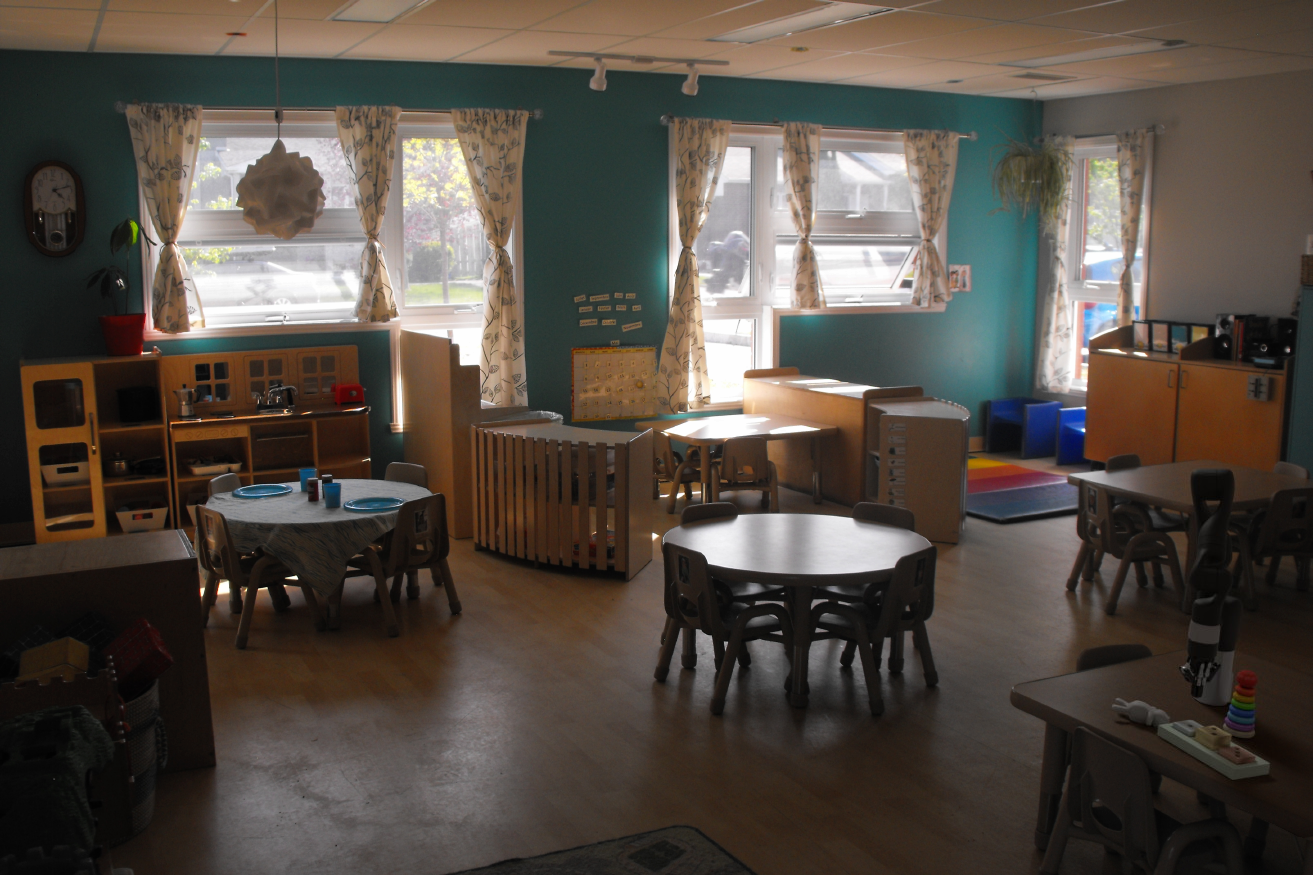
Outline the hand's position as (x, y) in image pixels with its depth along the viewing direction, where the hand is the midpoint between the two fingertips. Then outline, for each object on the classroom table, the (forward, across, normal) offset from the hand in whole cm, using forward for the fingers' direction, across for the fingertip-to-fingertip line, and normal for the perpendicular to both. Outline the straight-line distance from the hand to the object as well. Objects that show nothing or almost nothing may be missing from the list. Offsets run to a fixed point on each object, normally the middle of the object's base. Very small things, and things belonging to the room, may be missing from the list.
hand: (1196, 696), depth 294 cm
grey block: (+13, +1, 0) cm, 13 cm away
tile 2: (+11, +1, +8) cm, 13 cm away
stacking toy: (+14, -17, 0) cm, 22 cm away
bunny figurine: (+14, +4, -14) cm, 20 cm away
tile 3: (+13, +1, +16) cm, 20 cm away
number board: (+13, +1, +8) cm, 15 cm away
